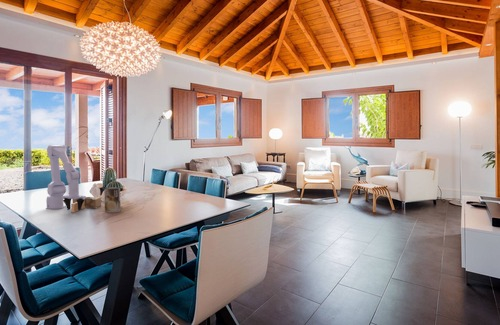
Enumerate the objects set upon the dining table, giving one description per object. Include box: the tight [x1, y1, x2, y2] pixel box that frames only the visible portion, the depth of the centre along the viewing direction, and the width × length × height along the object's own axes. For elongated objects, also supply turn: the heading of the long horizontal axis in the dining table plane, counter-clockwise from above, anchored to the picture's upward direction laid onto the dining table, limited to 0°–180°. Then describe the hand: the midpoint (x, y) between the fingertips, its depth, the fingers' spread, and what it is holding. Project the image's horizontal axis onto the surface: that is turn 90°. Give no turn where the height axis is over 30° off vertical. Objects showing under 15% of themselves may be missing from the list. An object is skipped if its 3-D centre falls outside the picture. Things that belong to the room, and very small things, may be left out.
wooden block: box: [71, 196, 102, 209], centre depth 206 cm, size 16×8×7 cm, turn 91°
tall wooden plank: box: [71, 202, 86, 213], centre depth 195 cm, size 2×12×6 cm, turn 1°
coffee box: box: [103, 186, 122, 214], centre depth 194 cm, size 9×6×16 cm
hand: (74, 209), depth 190 cm, fingers open, 6 cm apart
